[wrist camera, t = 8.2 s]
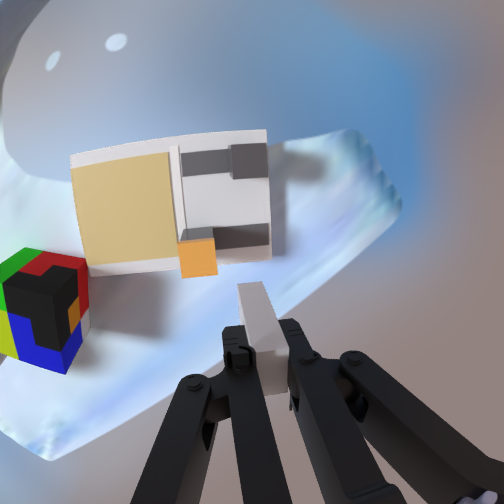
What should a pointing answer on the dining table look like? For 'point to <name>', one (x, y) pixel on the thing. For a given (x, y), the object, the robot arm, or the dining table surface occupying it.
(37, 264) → the puzzle toy
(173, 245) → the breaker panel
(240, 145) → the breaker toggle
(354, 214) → the dining table surface
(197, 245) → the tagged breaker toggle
